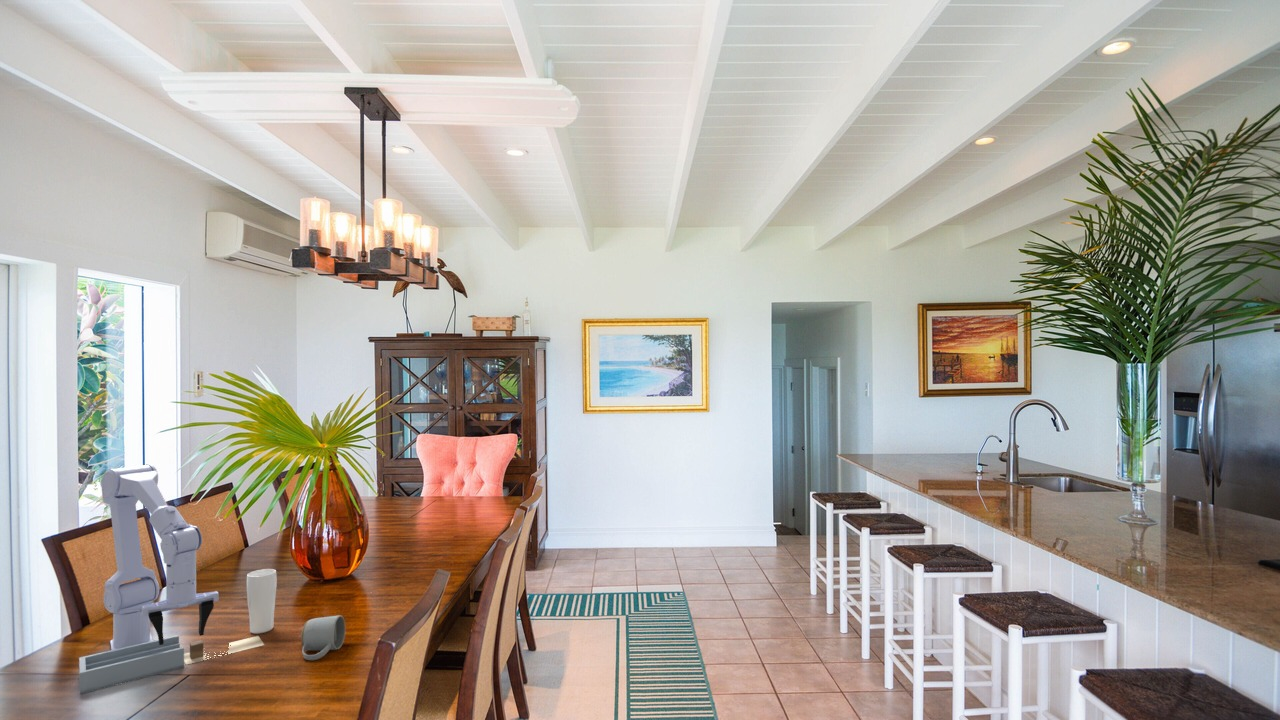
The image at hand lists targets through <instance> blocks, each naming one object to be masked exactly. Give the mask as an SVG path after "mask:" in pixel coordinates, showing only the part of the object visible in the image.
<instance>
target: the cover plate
mask: <svg viewBox="0 0 1280 720" xmlns="http://www.w3.org/2000/svg"><path fill="white" fill-rule="evenodd" d="M228 643H229V647H228V648H229V650H228V651H227V652H228V655H231V653H232V654H236V653H239V652H243V651H248V650H251V649H255V648H258V647H259V648H260V647H262V646H265V643H264V642H263V641H262V639H261V638H260V636H259V635H256V636H255V635H254V636H251V637H247V638H244V639H239V640H235V641H231V642H228ZM230 645H231V646H230ZM203 649H204V642H203V640H202V639H200V640H199V639H198V640H195V641H190V642H189V652H184V665H185V664H186V665H185V666H187V665H188V664H189V665H192V663H193V664H197V663H199V662H200V663H201V662H204V661H208V660H210V659H209V658H207V659H208V660H207V659H205V658H206V657H205V656H206V654H207V653H204V652H205V651H204V652H203ZM220 652H221V651H220ZM224 652H225V651H224ZM227 652H226V653H227ZM209 653H210V652H209ZM214 653H215V652H214ZM203 654H205V655H203ZM215 654H216V653H215ZM220 654H221V653H220ZM222 654H224V653H222ZM208 655H209V654H208ZM214 656H216V655H214ZM218 656H220V657H223V656H222V655H218ZM224 656H227V654H225V655H224ZM207 657H209V656H207ZM210 658H211V657H210ZM202 659H203V660H204V661H203V660H202ZM213 659H215V657H214V658H213ZM192 660H193V661H192ZM196 662H197V663H196Z"/></svg>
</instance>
